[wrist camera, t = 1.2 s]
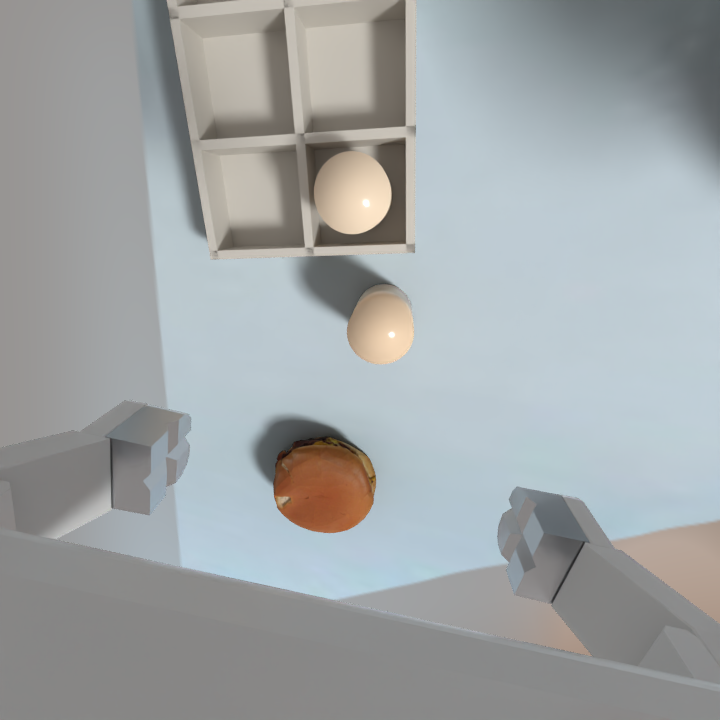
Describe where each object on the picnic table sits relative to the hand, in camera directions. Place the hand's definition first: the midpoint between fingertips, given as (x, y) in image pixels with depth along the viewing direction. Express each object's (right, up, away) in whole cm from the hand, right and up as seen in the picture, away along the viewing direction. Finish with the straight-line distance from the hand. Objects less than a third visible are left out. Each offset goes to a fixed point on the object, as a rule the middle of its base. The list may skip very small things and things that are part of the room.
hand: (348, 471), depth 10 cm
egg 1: (0, +15, +20) cm, 25 cm away
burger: (-3, -8, +30) cm, 31 cm away
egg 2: (+2, +7, +23) cm, 24 cm away
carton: (-3, +22, +18) cm, 28 cm away
